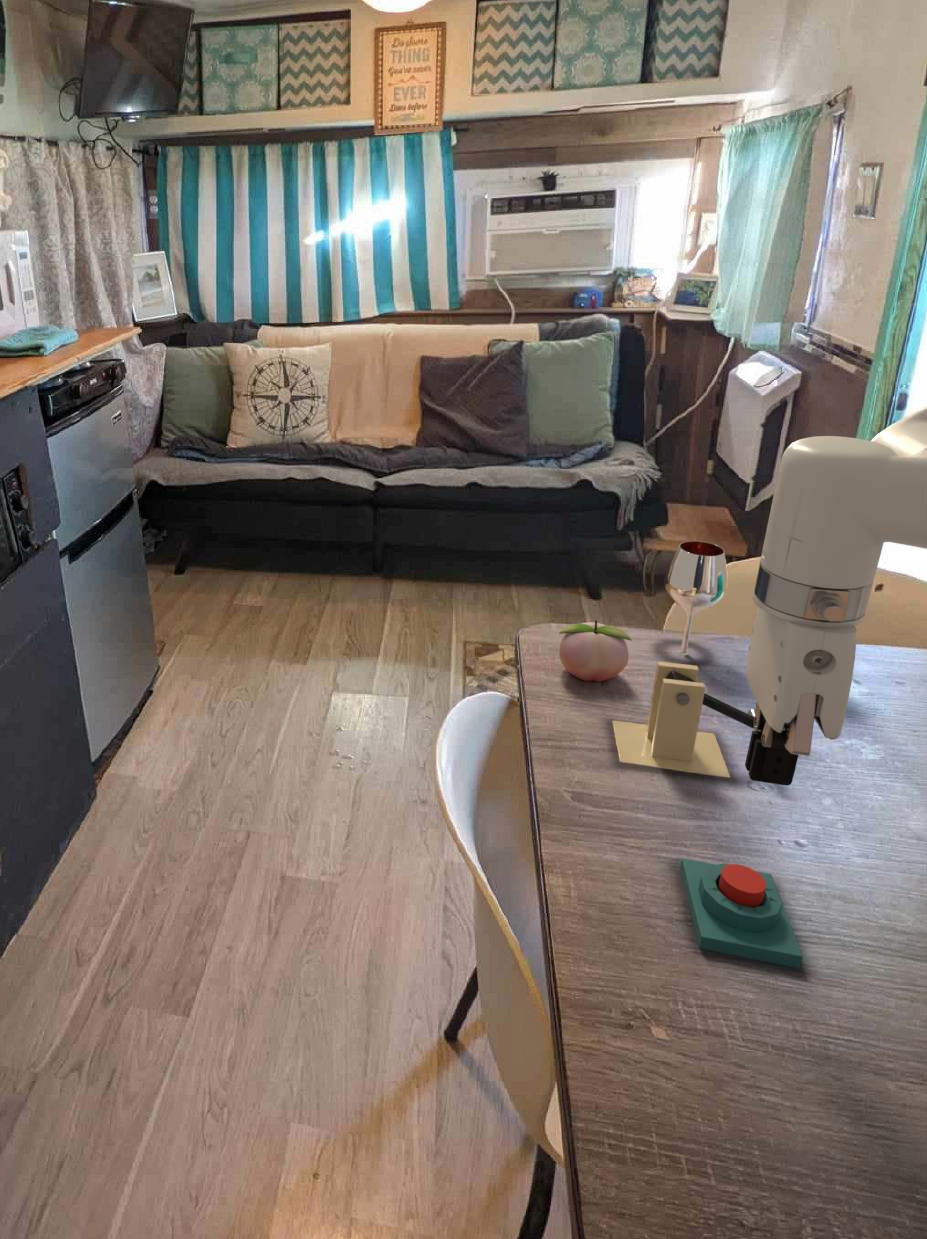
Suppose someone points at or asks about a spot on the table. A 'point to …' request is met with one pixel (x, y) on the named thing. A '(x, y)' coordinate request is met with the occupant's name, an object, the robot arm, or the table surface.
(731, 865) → the button
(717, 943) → the control block
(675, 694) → the bracket
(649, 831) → the table surface
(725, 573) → the wineglass
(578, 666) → the decorative fruit
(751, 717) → the lever
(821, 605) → the robot arm
